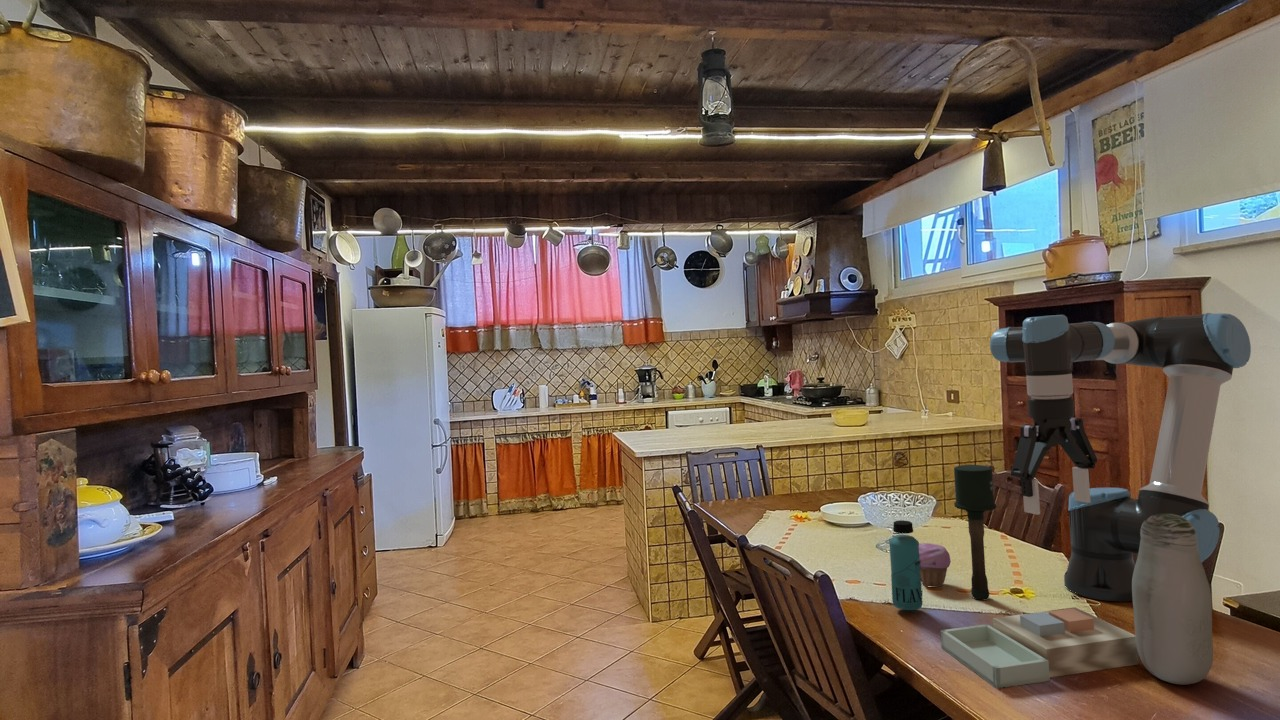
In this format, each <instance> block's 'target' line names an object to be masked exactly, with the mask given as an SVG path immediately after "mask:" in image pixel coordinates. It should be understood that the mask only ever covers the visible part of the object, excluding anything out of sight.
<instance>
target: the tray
mask: <svg viewBox="0 0 1280 720" xmlns="http://www.w3.org/2000/svg"><path fill="white" fill-rule="evenodd" d="M940 646H941V649H942V651H943V650H944V651H945V652H946V653H947V654H949V655H950V656H951V657H952V658H954V659H955V660H957V661H958V662H960V663H961V664H962V665H964V666H965V667H967V668H968V669H969V670H971V671H972V672H974V674H976V675H977V676H979V677H980V678H982V680H984V681H985V682H987V683H988V684H990V685H991V686H992V687H994V688H995V689H998V688H999V689H1004V688H1003V687H1005V688H1010V686H1012V687H1018V685H1019V686H1025V685H1029V684H1038V683H1044V682H1050V681H1051V679H1050V678H1051V677H1049V661H1048V660H1046V659H1045V658H1043V657H1041V656H1040V655H1038V654H1036V653H1035V652H1033V651H1031V650H1030V649H1028V648H1026V647H1025V646H1023V645H1021V644H1020V643H1018V642H1016V641H1015V640H1013V639H1011V638H1010V637H1008V636H1006V635H1005V634H1003V633H1001V632H1000V631H998V630H996V629H995V628H993V626H992V625H990V624H988V623H987V624H986V623H985V624H977V625H971V626H963V627H957V628H955V627H954V628H949V629H948V628H947V629H941V630H940Z"/></svg>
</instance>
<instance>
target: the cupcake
mask: <svg viewBox="0 0 1280 720" xmlns="http://www.w3.org/2000/svg"><path fill="white" fill-rule="evenodd" d="M950 555H951V554H950V553H949V552H948V550H947V548H946V547H945V546H943V545H942V544H935V543H929V542H927V543H919V556H920V559H921V562H920V566H921V567H920V568H921V569H920V572H921V578H922V579H921V580H922V581H921V584H923V585H924V587H926V586H937V587H941V586H942V585H943V584H944V583H945V580H946V577H947V572H948V568H949V567H950V565H951V562H952V561H951V556H950Z"/></svg>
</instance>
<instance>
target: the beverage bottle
mask: <svg viewBox="0 0 1280 720" xmlns="http://www.w3.org/2000/svg"><path fill="white" fill-rule="evenodd" d="M892 527H893V528H892V529H893V532H894V533H897V535H894V536H892V537H891V538H890V539H889V541H888V542H889V543H888V544H889V557H890V558H889V559H890V572H891V574H890V582H891V601H892V604H893V606H894V607H895V608H897V609H901V610H905V611H916V610H919V609H921V608H922V607H923V602H924V601H923V588H922V586H923V585H922V584H923V583H922V582H921V581H922V580H921V579H922V578H921V572H920V569H921V568H920V567H921V566H920V562H921V559H920V556H919V544H920V542H919V540H917V539H916V538H915V537H914V536H913V535H908V534H912V533H913V532H914V526H913V522H912V521H909V520H895V521H893V526H892Z"/></svg>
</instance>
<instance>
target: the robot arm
mask: <svg viewBox="0 0 1280 720" xmlns="http://www.w3.org/2000/svg"><path fill="white" fill-rule="evenodd" d="M989 344H990V345H989V350H990V353H991V355H992V357H993V358H994V359H995V360H997V361H998V362H1003V363H1012V364H1013V363H1024V365H1025V376H1026V377H1025V378H1026V394H1027V395H1028V396H1029V398H1028V399H1027V400H1026V401H1027V412H1028V413H1027V414H1028V417H1030V418H1031V419H1032V420H1033V425H1025V424H1022V425H1021V426H1020V428H1019V429H1020V435H1019V440H1018V441H1019V442H1018V443H1017V449H1016V452H1015V455H1014V460H1013V463H1012V466H1011V471H1010V475H1011V476H1012V477H1015V478H1016V479H1017V478H1019V480H1020V488H1021V491H1020V493H1021V495H1022V498H1023V511H1024V513H1028V514H1033V515H1037V516H1038V515H1041V505H1040V493H1039V492H1040V491H1039V480H1038V478H1037V479H1036V478H1035V477H1036V474H1037V472H1038V470H1039V468H1040V466H1041V464H1042V462H1043V460H1044V458H1045V456H1046V453H1048V451H1049V450H1051V449H1052V447H1056V446H1059V445H1060V447H1061V448H1062V450H1063V451H1064V452H1065V453H1066V455H1067V457H1068V458H1069V459H1070V460H1071V462H1072V463H1073V464H1074V465H1075V466H1073V467H1072V468H1071V471H1072V484H1073V491H1072V492H1071V493H1070V494H1069V495H1068V509H1067V511H1068V516H1069V518H1068V519H1069V520H1068V521H1069V533H1070V534H1069V535H1070V546H1071V547H1070V549H1071V554H1070V558H1069V562H1068V565H1067V569H1066V571H1065V573H1064V575H1063V576H1064V577H1063V578H1064V579H1063V581H1064V587H1065V586H1066V587H1067V588H1068V589H1069V590H1068V589H1067V588H1066V587H1065V588H1066V589H1067V590H1068V591H1070V590H1071V591H1073V592H1076V593H1078V594H1080V595H1079V596H1081V595H1082V597H1083V598H1084V597H1085V598H1089V599H1093V600H1097V601H1098V600H1099V601H1105V602H1106V601H1107V602H1118V603H1119V602H1121V603H1122V602H1133V598H1132V577H1133V572H1134V568H1135V564H1136V562H1135V560H1134V554H1136V555H1138V553H1139V547H1140V540H1141V535H1140V531H1141V526H1142V524H1143V522H1144V521H1145V520H1146V519H1147V518H1148V517H1150V516H1153V515H1157V514H1176V515H1179V516H1181V517H1183V518H1185V519H1187V520H1188V521H1189V522H1190V523H1191V524H1192V526H1193V527H1194V529H1195V532H1196V535H1197V542H1198V550H1199V555H1200V560H1201V562H1202V563H1203V562H1205V560H1206V559H1208V558H1209V557H1210V556H1211V555H1212V553H1213V552H1214V551H1215V548H1216V547H1217V545H1218V541H1219V539H1220V531H1221V530H1220V527H1219V524H1220V522H1219V520H1218V518H1217V516H1216V515H1215V514H1214V513H1213V512H1211V511H1210V510H1209V509H1210V508H1209V507H1210V503H1209V501H1207V499H1206V498H1205V497H1204V496H1203V495H1202V491H1203V487H1204V486H1203V485H1204V479H1205V476H1206V475H1205V474H1206V470H1207V469H1206V468H1207V462H1208V458H1209V452H1210V446H1211V441H1212V435H1213V430H1214V425H1215V424H1214V423H1215V420H1216V419H1215V418H1216V412H1217V406H1218V400H1219V395H1220V390H1221V386H1222V385H1223V384H1225V383H1226V382H1229V381H1230V380H1231V379H1232V376H1233V371H1234V369H1240V368H1243V367H1245V366H1246V365H1247V363H1248V362H1249V360H1250V358H1251V351H1252V349H1251V347H1252V346H1251V339H1250V336H1249V334H1248V331H1247V329H1246V326H1245V325H1244V323H1243V322H1242V321H1241V320H1240V319H1239V318H1238V317H1236V316H1235V315H1234V314H1230V313H1226V312H1225V313H1211V312H1207V313H1206V312H1205V313H1199V314H1186V315H1172V316H1169V315H1168V316H1155V317H1148V318H1141V319H1136V320H1131V321H1124V322H1110V323H1109V324H1105V323H1103V322H1099V321H1082V322H1075V323H1069V321H1068V316H1066V315H1065V314H1056V315H1043V316H1042V315H1041V316H1030V317H1026V318H1025V319H1024V320H1023V321H1022V326H1015V327H1014V326H1007V327H1004V328H1003V327H1002V328H998V329H997V330H995V331H994V332H993V333H992V335H991V337H990V340H989ZM1086 361H1092V362H1094V361H1105V362H1107V363H1108V364H1113V365H1117V364H1118V365H1122V364H1123V365H1131V366H1138V367H1141V366H1142V367H1148V368H1149V367H1151V368H1162V373H1163V374H1165V375H1166V377H1168V384H1167V390H1166V396H1165V400H1164V406H1163V411H1162V417H1161V423H1160V426H1159V427H1160V428H1159V433H1158V438H1157V444H1156V449H1155V452H1154V453H1155V454H1154V459H1153V465H1152V470H1151V474H1150V480H1149V483H1148V484H1147V485H1145V486H1142V487H1140V488H1139V491H1138V496H1137V498H1132V497H1131V493H1130V490H1128V489H1126V488H1122V487H1091V486H1090V482H1091V478H1090V469H1095V467H1096V464H1097V463H1098V457H1097V455H1096V453H1095V451H1094V449H1093V446H1092V445H1091V442H1090V440H1089V437H1088V435H1087V433H1086V431H1085V427H1084V420H1083V418H1081V417H1074V416H1075V414H1076V413H1075V402H1074V398H1073V397H1072V396H1071V395H1073V393H1074V385H1073V384H1074V383H1073V374H1072V363H1076V362H1086ZM1090 487H1091V488H1090ZM1071 591H1070V592H1071ZM1073 592H1072V593H1073ZM1076 593H1075V594H1076ZM1078 594H1077V595H1078Z"/></svg>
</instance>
